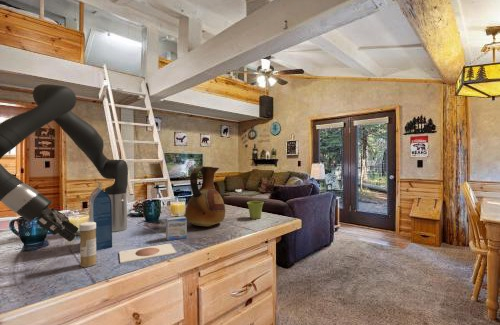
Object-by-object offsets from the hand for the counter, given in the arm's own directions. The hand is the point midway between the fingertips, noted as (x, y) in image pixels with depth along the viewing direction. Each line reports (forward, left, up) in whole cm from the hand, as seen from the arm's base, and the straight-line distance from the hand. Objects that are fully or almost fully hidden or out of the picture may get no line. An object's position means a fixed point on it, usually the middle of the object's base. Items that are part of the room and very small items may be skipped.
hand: (74, 235), depth 82 cm
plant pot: (-29, +81, -10) cm, 87 cm away
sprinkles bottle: (0, +3, -10) cm, 11 cm away
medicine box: (-14, +34, -10) cm, 39 cm away
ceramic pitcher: (-29, +52, -10) cm, 61 cm away
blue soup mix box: (-20, +6, -10) cm, 23 cm away
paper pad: (-1, +21, -10) cm, 24 cm away
